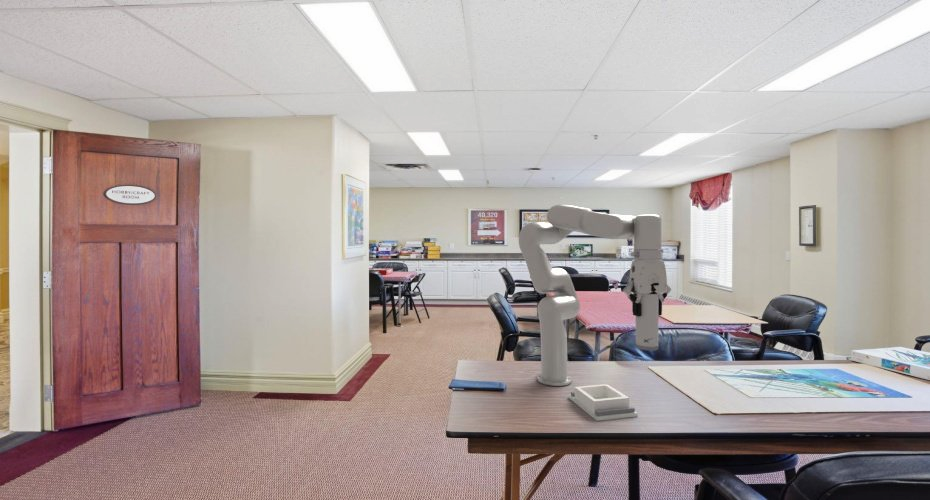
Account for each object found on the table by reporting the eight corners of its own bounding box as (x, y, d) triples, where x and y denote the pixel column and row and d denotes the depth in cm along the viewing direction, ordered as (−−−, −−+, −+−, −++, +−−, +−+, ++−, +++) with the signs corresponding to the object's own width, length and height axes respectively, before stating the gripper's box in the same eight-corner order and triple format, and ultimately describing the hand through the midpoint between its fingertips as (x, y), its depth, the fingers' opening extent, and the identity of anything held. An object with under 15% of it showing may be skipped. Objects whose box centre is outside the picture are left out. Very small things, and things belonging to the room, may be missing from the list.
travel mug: (650, 352, 117) (650, 283, 117) (631, 346, 123) (631, 281, 123) (663, 349, 120) (664, 282, 120) (644, 344, 126) (645, 280, 126)
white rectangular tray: (568, 397, 133) (568, 384, 133) (604, 394, 135) (604, 381, 135) (596, 420, 115) (596, 405, 115) (637, 416, 118) (637, 400, 117)
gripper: (629, 256, 116) (629, 318, 116) (681, 255, 119) (681, 316, 120) (614, 255, 123) (614, 314, 123) (663, 255, 126) (663, 311, 127)
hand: (647, 314), depth 121 cm, fingers closed on travel mug, 6 cm apart
